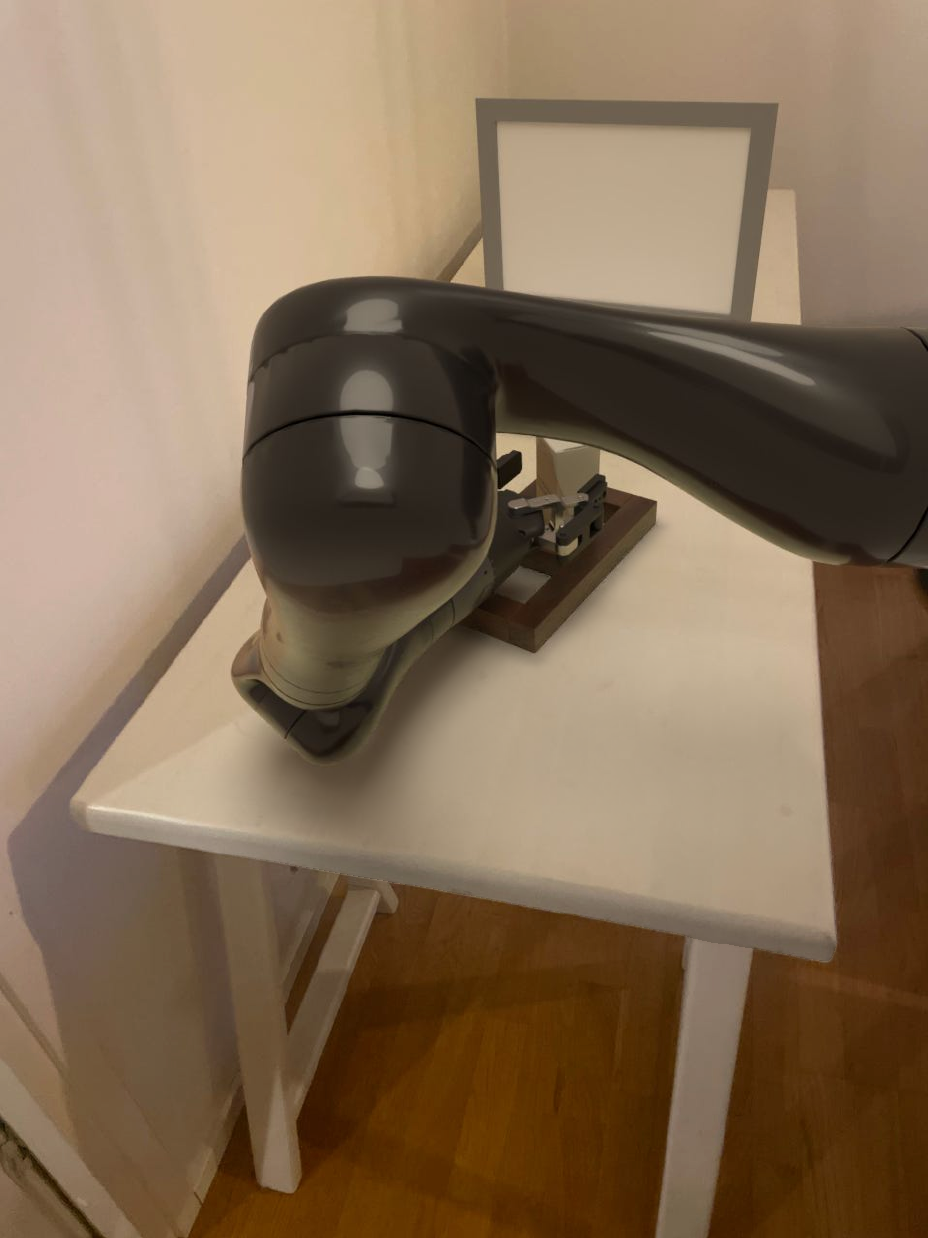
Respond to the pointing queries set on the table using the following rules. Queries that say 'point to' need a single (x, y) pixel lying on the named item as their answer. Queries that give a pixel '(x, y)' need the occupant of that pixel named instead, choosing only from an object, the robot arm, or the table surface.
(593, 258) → the laptop
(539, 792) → the table surface
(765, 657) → the table surface
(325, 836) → the table surface
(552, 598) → the socket pad
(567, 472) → the box
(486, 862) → the table surface
